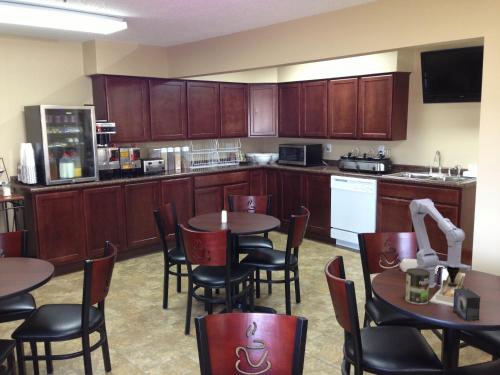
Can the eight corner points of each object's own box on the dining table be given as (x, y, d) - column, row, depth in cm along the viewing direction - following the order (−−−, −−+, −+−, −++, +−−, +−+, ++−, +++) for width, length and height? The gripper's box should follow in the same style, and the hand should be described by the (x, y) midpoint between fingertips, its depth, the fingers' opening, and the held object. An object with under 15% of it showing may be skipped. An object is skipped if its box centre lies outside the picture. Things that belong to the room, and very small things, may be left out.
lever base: (429, 302, 213) (430, 290, 212) (442, 286, 233) (443, 275, 232) (459, 308, 205) (460, 296, 204) (470, 292, 225) (471, 280, 224)
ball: (445, 291, 216) (445, 297, 216) (444, 292, 214) (443, 298, 214) (452, 292, 214) (452, 298, 214) (451, 293, 212) (450, 300, 212)
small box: (451, 310, 203) (453, 288, 202) (465, 310, 204) (467, 287, 202) (464, 321, 193) (466, 297, 191) (479, 320, 193) (481, 296, 192)
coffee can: (433, 302, 213) (435, 272, 211) (417, 306, 208) (418, 276, 206) (416, 294, 222) (417, 266, 220) (400, 298, 217) (401, 269, 215)
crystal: (400, 266, 253) (447, 270, 247) (399, 257, 259) (445, 260, 253) (399, 275, 258) (445, 279, 252) (398, 266, 263) (444, 269, 257)
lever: (441, 298, 219) (441, 290, 217) (450, 277, 231) (450, 269, 229) (457, 301, 215) (457, 293, 213) (465, 280, 227) (465, 272, 225)
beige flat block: (435, 299, 214) (436, 294, 214) (440, 294, 220) (440, 289, 220) (456, 303, 209) (456, 298, 209) (460, 298, 215) (460, 293, 215)
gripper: (436, 254, 219) (434, 281, 221) (469, 259, 210) (467, 287, 212) (439, 250, 224) (438, 277, 226) (472, 255, 216) (470, 283, 218)
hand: (452, 282), depth 220 cm, fingers closed
